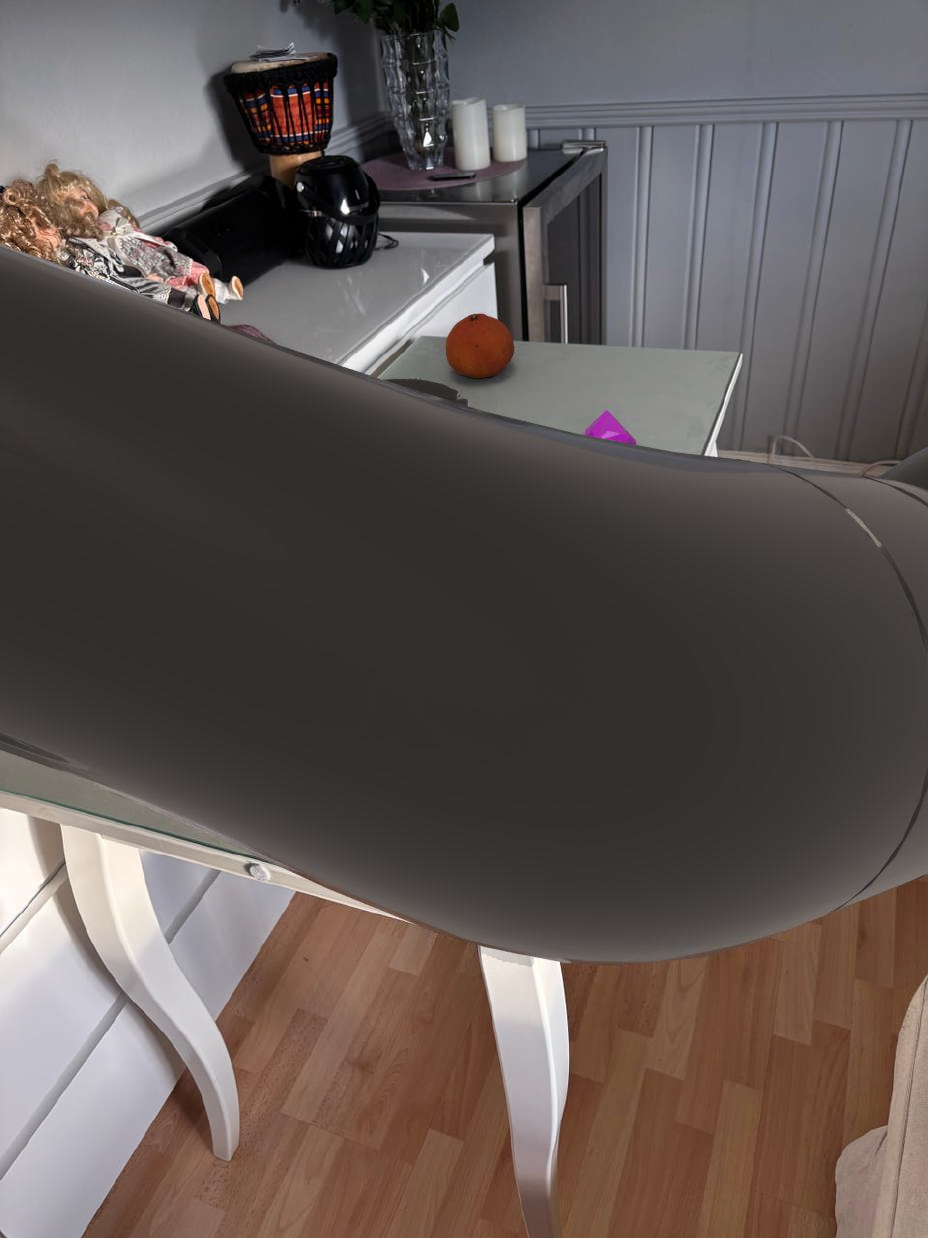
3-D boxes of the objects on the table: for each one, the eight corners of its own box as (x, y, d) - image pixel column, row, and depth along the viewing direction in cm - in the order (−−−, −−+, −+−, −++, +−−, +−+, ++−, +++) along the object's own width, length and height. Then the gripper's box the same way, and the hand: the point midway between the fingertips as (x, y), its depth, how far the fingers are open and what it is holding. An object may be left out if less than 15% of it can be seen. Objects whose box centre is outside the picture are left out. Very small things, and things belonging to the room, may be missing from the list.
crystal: (576, 461, 102) (575, 424, 99) (610, 443, 104) (610, 406, 101) (609, 477, 99) (610, 439, 96) (644, 458, 101) (645, 421, 98)
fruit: (441, 388, 120) (434, 329, 115) (459, 359, 127) (453, 302, 121) (506, 390, 118) (502, 330, 113) (521, 361, 124) (518, 303, 119)
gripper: (561, 904, 33) (431, 878, 48) (823, 725, 39) (633, 752, 54) (466, 721, 34) (366, 752, 48) (740, 569, 39) (574, 639, 54)
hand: (507, 752), depth 51 cm, fingers open, 8 cm apart
